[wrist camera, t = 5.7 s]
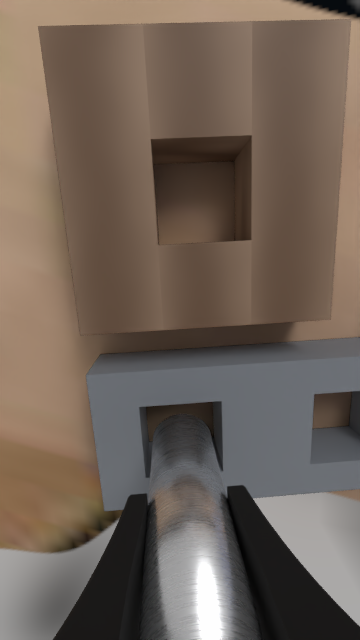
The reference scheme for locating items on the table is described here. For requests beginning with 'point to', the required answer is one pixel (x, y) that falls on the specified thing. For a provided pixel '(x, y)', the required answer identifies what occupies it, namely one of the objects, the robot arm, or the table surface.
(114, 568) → the robot arm
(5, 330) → the table surface
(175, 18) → the table surface
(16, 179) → the table surface
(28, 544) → the table surface
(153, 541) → the steel peg
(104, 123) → the socket block
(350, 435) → the tool rack
